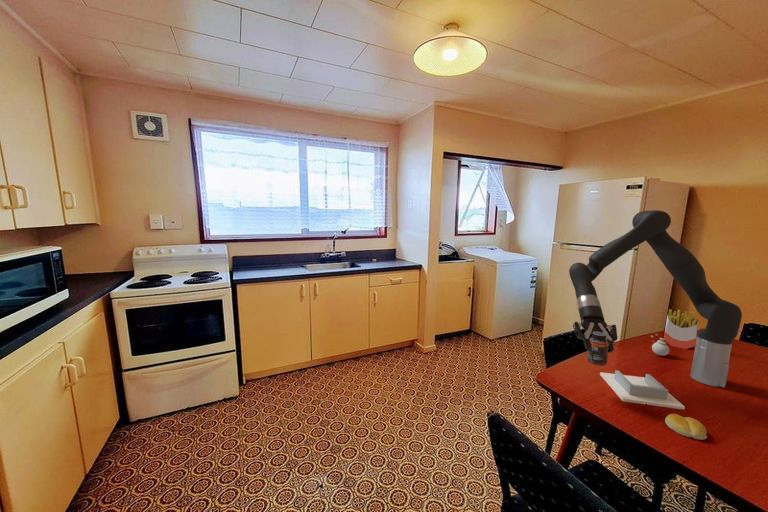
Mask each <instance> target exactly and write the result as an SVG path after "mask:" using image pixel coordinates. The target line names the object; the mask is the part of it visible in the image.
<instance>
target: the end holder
mask: <svg viewBox="0 0 768 512" xmlns="http://www.w3.org/2000/svg"><path fill="white" fill-rule="evenodd" d="M599 375H600V376H601V378H602V379H603V380H604V381H605V382H606V383H607V385H608V386H609V387H610V388H611V389H612V390H613V391H614V393H615V394H616V395H617V397H619V399H620V400H621V401H622V402H625V403H632V404H638V405H639V404H641V405H646V404H647V406H655V407H662V408H668V409H677V410H684V411H685V408H686V406H685V405H683V404H682V403H681V402H680V401H678V399H676V398H675V397H674V396H673V395H672V393H671V394H670V393H669V389H667V388H666V387H665V386H664V385H663V384H662V383H660V382H659V381H658V380H657V379H656V378H655V377H654V376H652V375H651V374H650V373H645V377H644V376H636V375H635V376H634V375H626V374H623V373H621V371H620V370H616V369H615V370H614V373H609V372H602V371H601V372H600V373H599Z"/></svg>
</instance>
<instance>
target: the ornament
mask: <svg viewBox="0 0 768 512" xmlns="http://www.w3.org/2000/svg"><path fill="white" fill-rule="evenodd" d="M655 336H658V333H655ZM650 337H651V338H654V336H653V335H650ZM652 342H653V344H652V345H651V349H652V352H653V353H654V354H656V355H657V356H667V355H668V354H669V353H670V347H669V345H667V342H666V341H665V339H664V337H659V340H657V341H656V342H655V341H654V339H653V340H652Z"/></svg>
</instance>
